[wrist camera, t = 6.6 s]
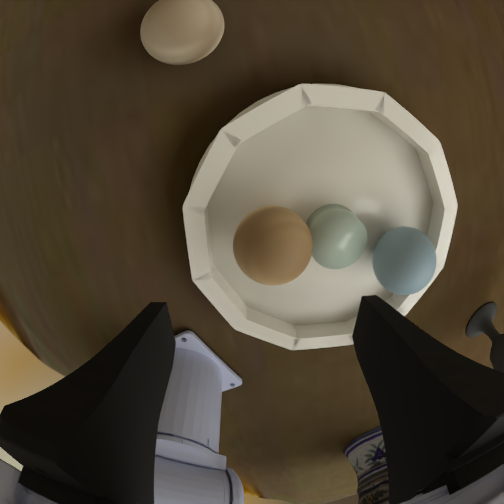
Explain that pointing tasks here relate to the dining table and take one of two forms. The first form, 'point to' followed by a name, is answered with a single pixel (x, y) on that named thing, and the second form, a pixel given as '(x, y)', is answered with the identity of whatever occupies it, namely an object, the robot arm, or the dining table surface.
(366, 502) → the vase
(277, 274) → the bead oak
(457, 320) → the dining table surface
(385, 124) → the tray
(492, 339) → the sundae
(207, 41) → the bead birch
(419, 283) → the bead blue
